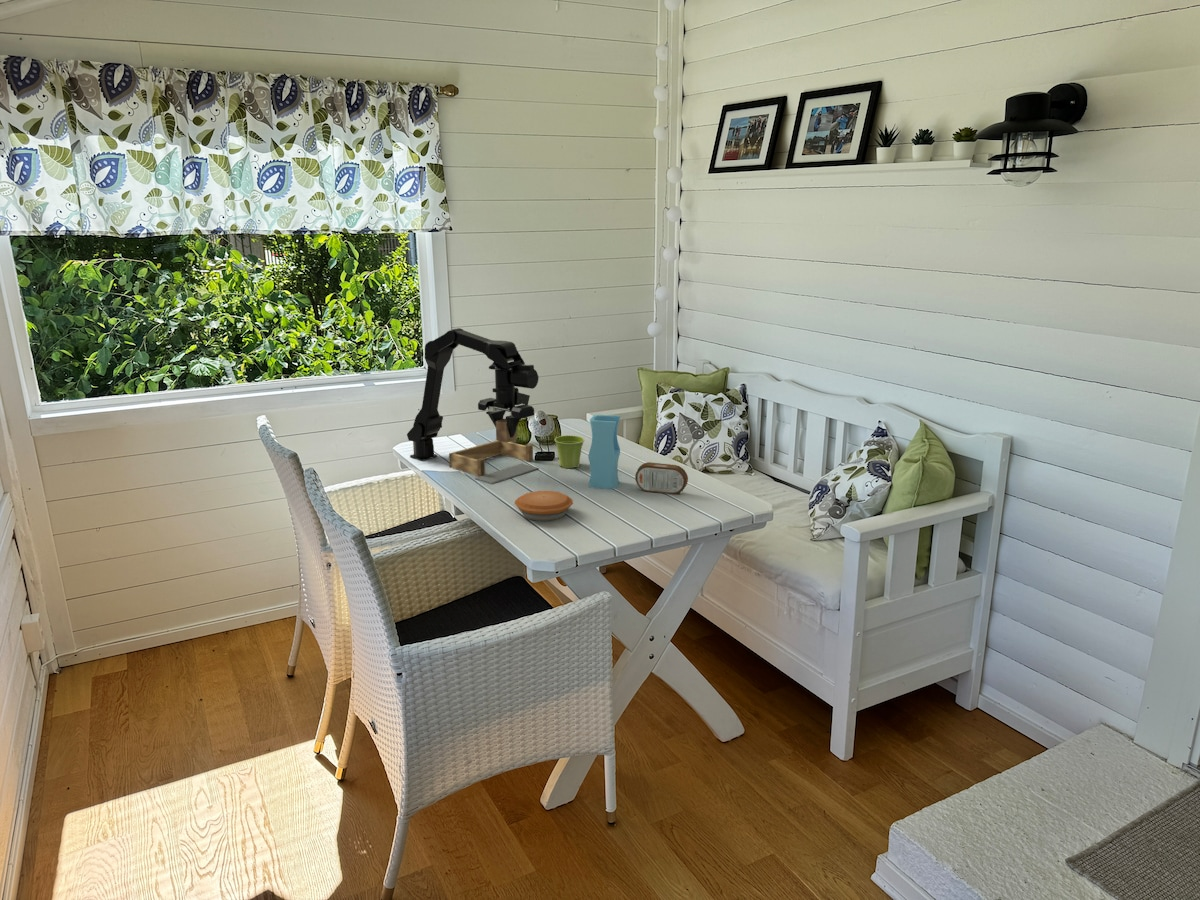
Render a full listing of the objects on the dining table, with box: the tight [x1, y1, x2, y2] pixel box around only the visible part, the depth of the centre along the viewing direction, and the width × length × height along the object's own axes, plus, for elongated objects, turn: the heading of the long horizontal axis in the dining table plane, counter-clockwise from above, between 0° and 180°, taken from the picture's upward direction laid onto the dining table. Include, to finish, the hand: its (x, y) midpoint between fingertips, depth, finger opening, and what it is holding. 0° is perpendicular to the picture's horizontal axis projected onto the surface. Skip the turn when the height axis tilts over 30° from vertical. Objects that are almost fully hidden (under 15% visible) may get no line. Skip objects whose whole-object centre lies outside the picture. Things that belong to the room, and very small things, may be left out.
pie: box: [514, 490, 574, 522], centre depth 234 cm, size 16×16×5 cm
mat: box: [474, 462, 540, 485], centre depth 268 cm, size 7×20×1 cm, turn 140°
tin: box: [634, 461, 689, 495], centre depth 251 cm, size 15×3×8 cm, turn 74°
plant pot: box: [554, 434, 585, 469], centre depth 275 cm, size 9×9×9 cm
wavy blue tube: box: [587, 414, 621, 490], centre depth 256 cm, size 8×8×20 cm
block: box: [495, 417, 518, 443], centre depth 264 cm, size 4×4×6 cm
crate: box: [448, 440, 534, 477], centre depth 277 cm, size 14×23×5 cm, turn 140°
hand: (506, 435), depth 265 cm, fingers closed on block, 4 cm apart
